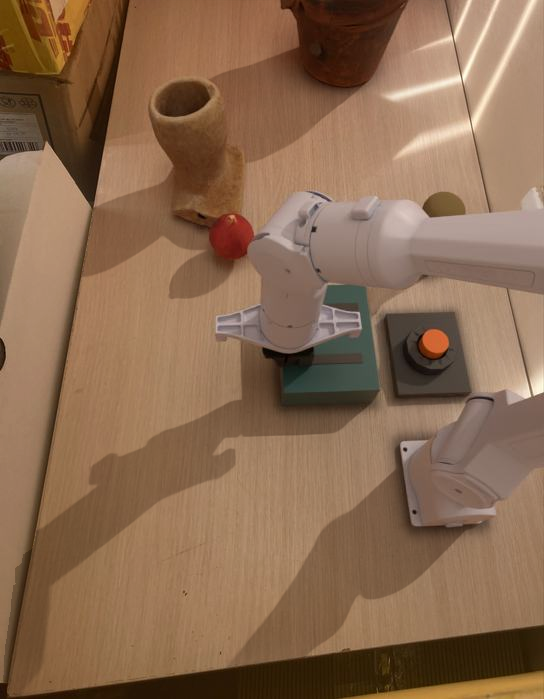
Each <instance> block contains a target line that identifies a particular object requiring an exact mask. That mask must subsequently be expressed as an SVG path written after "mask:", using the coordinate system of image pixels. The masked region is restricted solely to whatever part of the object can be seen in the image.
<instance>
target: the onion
mask: <svg viewBox="0 0 544 699" xmlns="http://www.w3.org/2000/svg"><path fill="white" fill-rule="evenodd" d="M254 236H255V232H254V229H253V226H252V224H251V223H250V221H248V219H246V217H244V215H242V214H240V215H239V214H235V213H227V214H223V215H222V216H220V217H218V218H217V219H216V220H215V221H214V223H213V224H212V226H211V227H209V235H208V240H209V243H210V246H211V248H212V250H213V251H214V252H215V253H216V254H217V256H219V257H221V258H223V259H225V260H228V261H237V260H241V259H242V258H243V257H246V256H248V253H247V249H248V246H249V244H250V243H251V242H252V240H253V238H254Z"/></svg>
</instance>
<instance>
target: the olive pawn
mask: <svg viewBox="0 0 544 699" xmlns="http://www.w3.org/2000/svg"><path fill="white" fill-rule="evenodd" d="M421 208H422V209H423V210H424V212H425V213H426V214H427V215H428V216H429V217H430V218H432V217H445V216H457V215H467V214H466V213H467V211H466V204H465V203H464V202H463V200H462V199H461V197H459V195H457V194H455V193H453V192H451V191H439V192H438V191H437V192H435V193H433V194H431V195H429V196H428V198H427V199H426V200H424V202H423V205H422V207H421Z"/></svg>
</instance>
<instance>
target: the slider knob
mask: <svg viewBox="0 0 544 699" xmlns="http://www.w3.org/2000/svg"><path fill="white" fill-rule="evenodd" d="M314 355H315V352H314V351H313V354H312V355H311V357H308V358H301V359H298V360H297V365H298V367H311V366H312V363H313V359H314Z"/></svg>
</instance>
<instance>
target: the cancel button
mask: <svg viewBox="0 0 544 699" xmlns="http://www.w3.org/2000/svg"><path fill="white" fill-rule="evenodd" d="M448 346H449V340H448V338H447V336H446V335H445V334H444V333H443V332H442V331H440V330H437V329H431V330H428V331H426V332H425V333H424V335H423V336H422V337H421V339H420V341H419V344H418V347H419V350H420V352H421V353H422V354H423V355H424V356H425V357H427V358H430V359H436V358H439V357H441V356H442V355H443V353H444V352H445V351H446V350H447V348H448Z"/></svg>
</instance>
